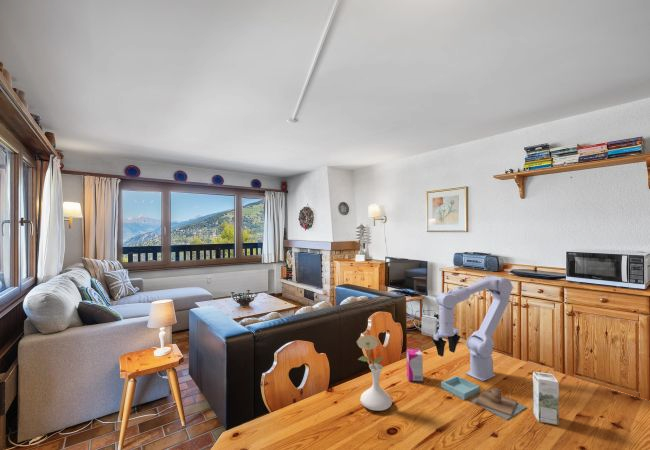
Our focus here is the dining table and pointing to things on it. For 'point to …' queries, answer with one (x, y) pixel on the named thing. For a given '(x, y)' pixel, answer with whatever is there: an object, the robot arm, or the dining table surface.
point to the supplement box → (414, 365)
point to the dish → (460, 387)
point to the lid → (496, 401)
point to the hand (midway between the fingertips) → (446, 353)
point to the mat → (516, 410)
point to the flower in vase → (374, 395)
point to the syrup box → (546, 398)
